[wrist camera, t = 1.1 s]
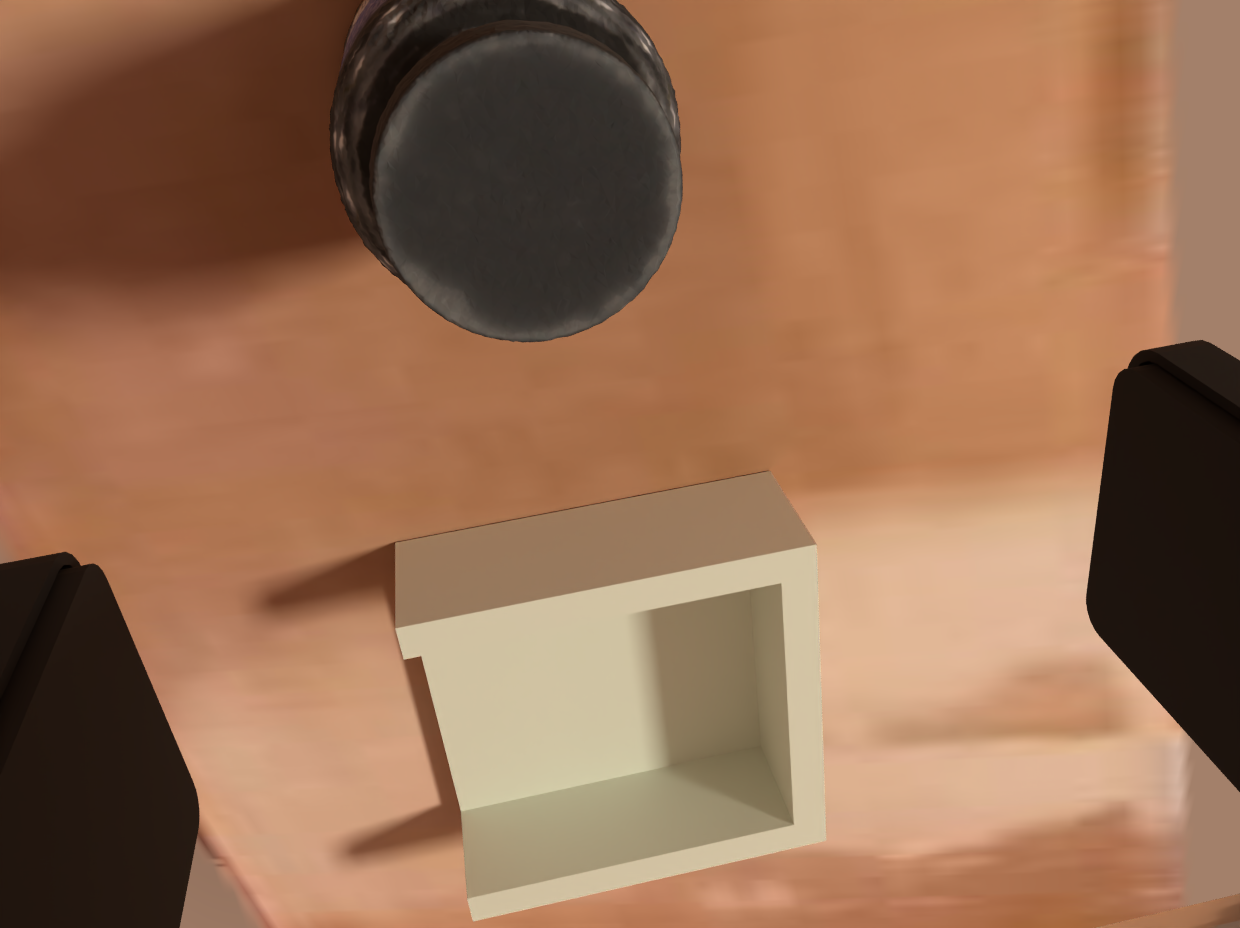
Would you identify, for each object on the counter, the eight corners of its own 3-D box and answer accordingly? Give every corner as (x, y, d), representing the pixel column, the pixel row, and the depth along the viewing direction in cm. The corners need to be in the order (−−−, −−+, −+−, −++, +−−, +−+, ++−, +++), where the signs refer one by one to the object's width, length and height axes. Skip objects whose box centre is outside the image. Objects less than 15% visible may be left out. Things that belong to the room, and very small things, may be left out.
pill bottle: (368, 221, 27) (355, 412, 17) (319, -53, 24) (270, -5, 15) (616, 193, 28) (734, 360, 18) (597, -77, 25) (725, -47, 15)
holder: (394, 542, 31) (395, 628, 28) (770, 470, 32) (816, 544, 29) (465, 819, 37) (473, 921, 33) (785, 749, 38) (826, 840, 34)
